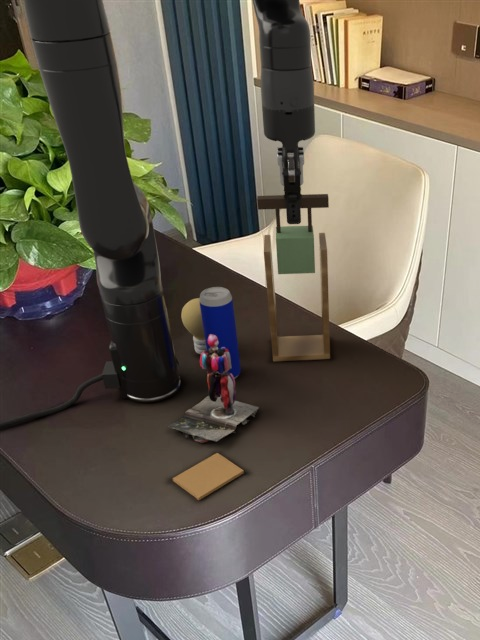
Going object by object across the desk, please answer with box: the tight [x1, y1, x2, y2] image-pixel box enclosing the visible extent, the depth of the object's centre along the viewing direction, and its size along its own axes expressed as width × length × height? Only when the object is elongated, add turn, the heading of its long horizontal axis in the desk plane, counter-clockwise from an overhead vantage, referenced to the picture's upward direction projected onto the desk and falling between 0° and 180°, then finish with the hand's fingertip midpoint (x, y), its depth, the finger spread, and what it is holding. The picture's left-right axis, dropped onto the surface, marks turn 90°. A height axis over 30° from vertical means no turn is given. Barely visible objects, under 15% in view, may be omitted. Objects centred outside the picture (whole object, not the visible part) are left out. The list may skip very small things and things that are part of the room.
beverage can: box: [199, 286, 242, 380], centre depth 118 cm, size 5×5×15 cm
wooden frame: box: [263, 232, 331, 362], centre depth 123 cm, size 10×7×20 cm
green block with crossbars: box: [256, 193, 330, 275], centre depth 116 cm, size 11×5×12 cm, turn 95°
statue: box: [167, 334, 260, 444], centre depth 108 cm, size 11×9×15 cm
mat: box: [172, 452, 245, 501], centre depth 102 cm, size 8×6×1 cm
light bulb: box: [181, 297, 207, 356], centre depth 126 cm, size 6×6×10 cm
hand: (293, 220), depth 114 cm, fingers closed on green block with crossbars
